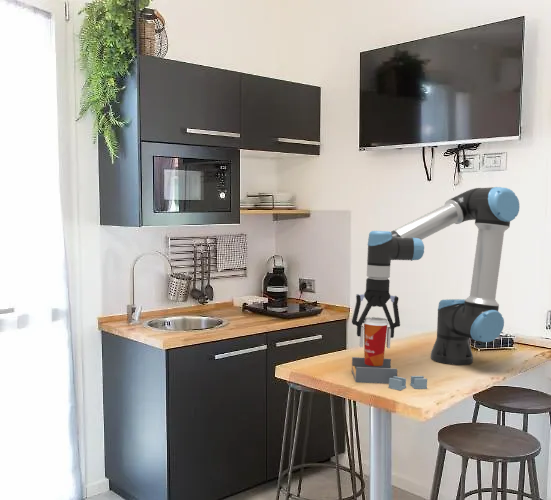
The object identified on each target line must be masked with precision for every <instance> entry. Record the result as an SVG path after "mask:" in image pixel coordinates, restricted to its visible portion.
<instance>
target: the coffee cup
mask: <svg viewBox="0 0 551 500" xmlns="http://www.w3.org/2000/svg"><path fill="white" fill-rule="evenodd" d="M388 325H389V322H388V320H387V318H383V317H378V316H377V317H375V316H373V317H370V316H369V317H367V316H366V318H365V320H364V322H363V327H364V330H363V345H364V346H363V347H364V350H363V351H364V353H363V355H364V357H363V358H365V364H366V365H369V366H382V365H383V360H384V359H385V358H384V357H385V352H386V351H385V349H386V344H387V327H388Z"/></svg>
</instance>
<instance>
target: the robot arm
mask: <svg viewBox="0 0 551 500" xmlns="http://www.w3.org/2000/svg"><path fill="white" fill-rule="evenodd" d="M519 212H520V201H519V198H518V196H517V195H516V193H515V192H514V191H513V190H512V189H510V188H507V187H501V186H495V187H492V186H491V187H475V188H471V189H469V190H466V191H464V192H461V193H460V194H458V195H455V196H454V197H451V198H449V199H448V200H446V201H445V202H444V205H441V206H439V207H438V208H435V209H433V210H432V211H430V212H427V213H426V214H424V215H421V216H420V217H418V218H416V219H413V220H412V221H410V222H408V223H405V224H404V225H402V226H400V227H398V228H395V229H394V230H392V231H391V230H390V231H388V230H387V231H386V230H371V231H370V232H369V234H368V239H367V240H368V241H367V258H366V259H367V260H366V261H367V262H366V263H367V265H366V277H367V278H366V279H365V280H366V282H365V291H364V293H363V294H359V293H357V294H355V300H356V302H355V306H354V310H353V313H352V319H351V323H352V325H354V326H356V336H357V337H359V347H360V348H363V347H364V346H363V345H364V323H363V322H364V320H365V318H367V316H368V314H369V313H370V310H371V309H372V307H373V308H374V307H378V308H382V310H383V311H384V315H385V318H386V319H387V323H388V325H389V326H387V333H386V345H385V348H387V349H391V339H393V338H394V336H395V329H396V328H399V327H400V326H401V321H400V313H399V312H400V311H399V306H398V305H399V297H398V296H397V295H391V294H390V283H391V282H390V281H391V280H390V279H389V278H390V277H391V263H392V261H410V262H411V261H419V260H420V259H422V258H423V256H424V255H425V245H424V242H423V240H424V239H426V238H427V237H430V236H432V235H434V234H436V233H438V232H439V231H441V230H444V229H446V228H448V227H450V226H451V225H460V224H462V223H464V222H467V221H474V225H475V226H476V228H477V229H478V233H477V237H476V238H477V239H476V245H475V254H474V259H473V261H474V262H473V267H472V269H473V270H472V274H471V275H472V277H471V282H470V283H471V284H470V291H469V292H470V293H469V296H468V297H467V298H465V299H460V298H458V299H457V298H455V299H453V298H452V299H451V298H450V299H448V298H447V299H441V300H440V301H439V302H438V306H437V324H436V325H437V327H436V339H435V342H434V344H433V347H432V349H431V351H430V358H431V360H432V361H434V362H437V363H443V364H447V365H456V366H457V365H458V366H459V365H461V366H462V365H464V366H465V365H469V364H472V363H473V361H474V359H473V358H474V355H473V351H472V347H471V345H470V344H471V343H470V339H471V340H474V341H476V342H482V343H490V342H492V341H494V340H496V339H497V338H499V336H500V335H501V334H502V332H503V330H504V326H505V318H504V317H503V314H501V313H500V312H499V309H500V304H499V303H498V301H497V300H496V296H497V288H498V281H499V280H498V279H499V273H500V267H501V259H502V251H503V250H502V249H503V242H504V235H505V232H506V231H507V230H509V228H510V225H511V222H512V221H513V220H515V219H516V217H517V216H518V215H519ZM364 299H365V300H366V302H367V303H366V305H365V307H364V309H363V311H362V313H361V315H360V317H359V312H360V308H361V305H362V302H363V301H364ZM389 300H390V301H391V303H392V310H393V316H394V322H393V319H392V316H391V314H390V311H389V309H388V305H387V302H388V301H389ZM358 317H359V319H358Z"/></svg>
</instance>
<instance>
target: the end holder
mask: <svg viewBox="0 0 551 500" xmlns="http://www.w3.org/2000/svg"><path fill="white" fill-rule="evenodd" d="M391 365H392V359H391V358H384V360H383V365H382V366H369V365H366V364H365V358H364V357H359V356H358V357H357V356H352V358H351V373H352V375H353V379H354V382H355V383H363V384H365V383H366V384H368V383H369V384H384V385H385V384H386V385H389V378H393V376H397V377H398V368H394V367H393V368H392V367H391Z"/></svg>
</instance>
